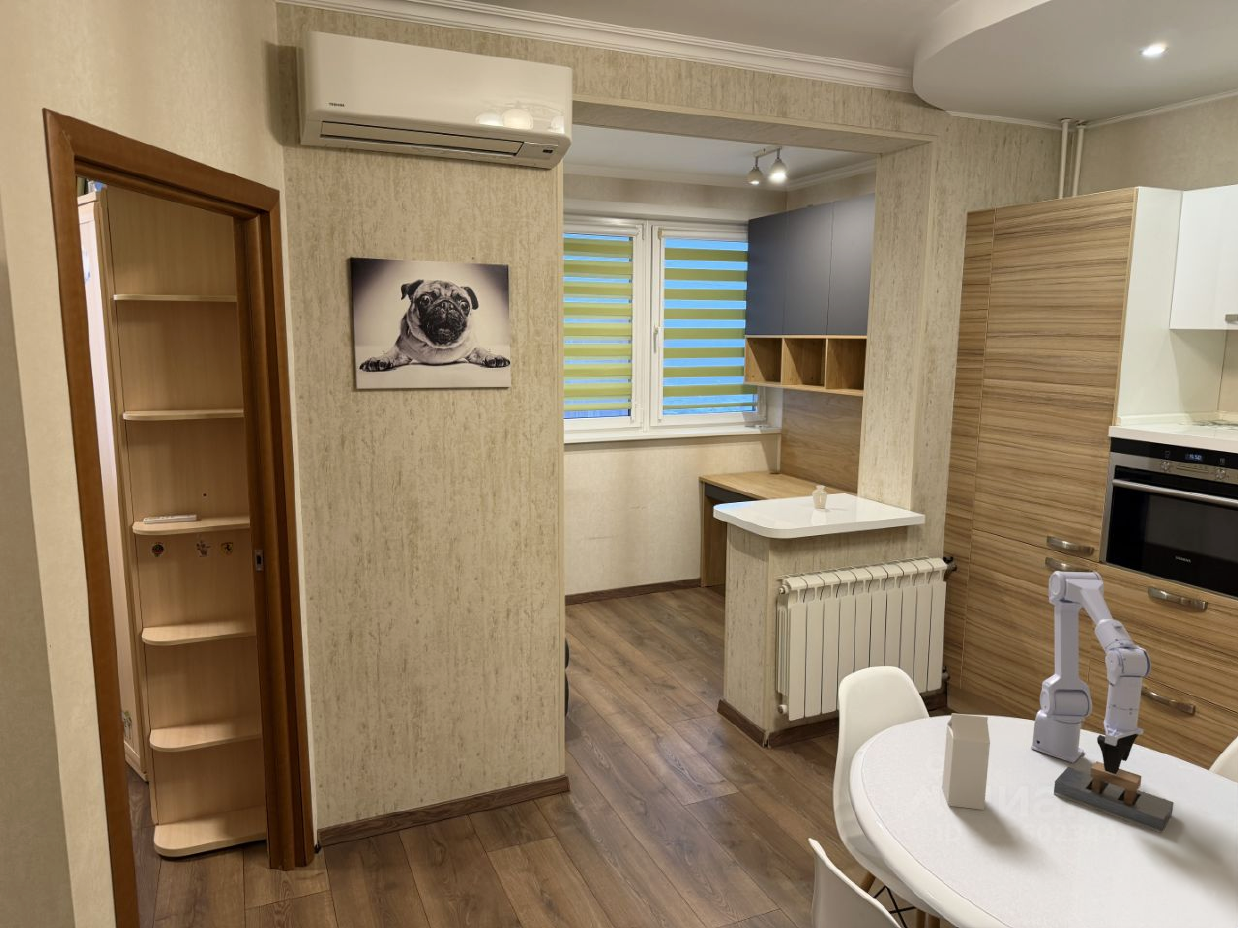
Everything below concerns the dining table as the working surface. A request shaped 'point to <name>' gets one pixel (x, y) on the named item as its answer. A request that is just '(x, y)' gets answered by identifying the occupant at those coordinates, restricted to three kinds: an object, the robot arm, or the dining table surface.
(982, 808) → the milk carton
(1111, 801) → the grey slotted block
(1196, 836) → the dining table surface
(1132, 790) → the wooden arch block
